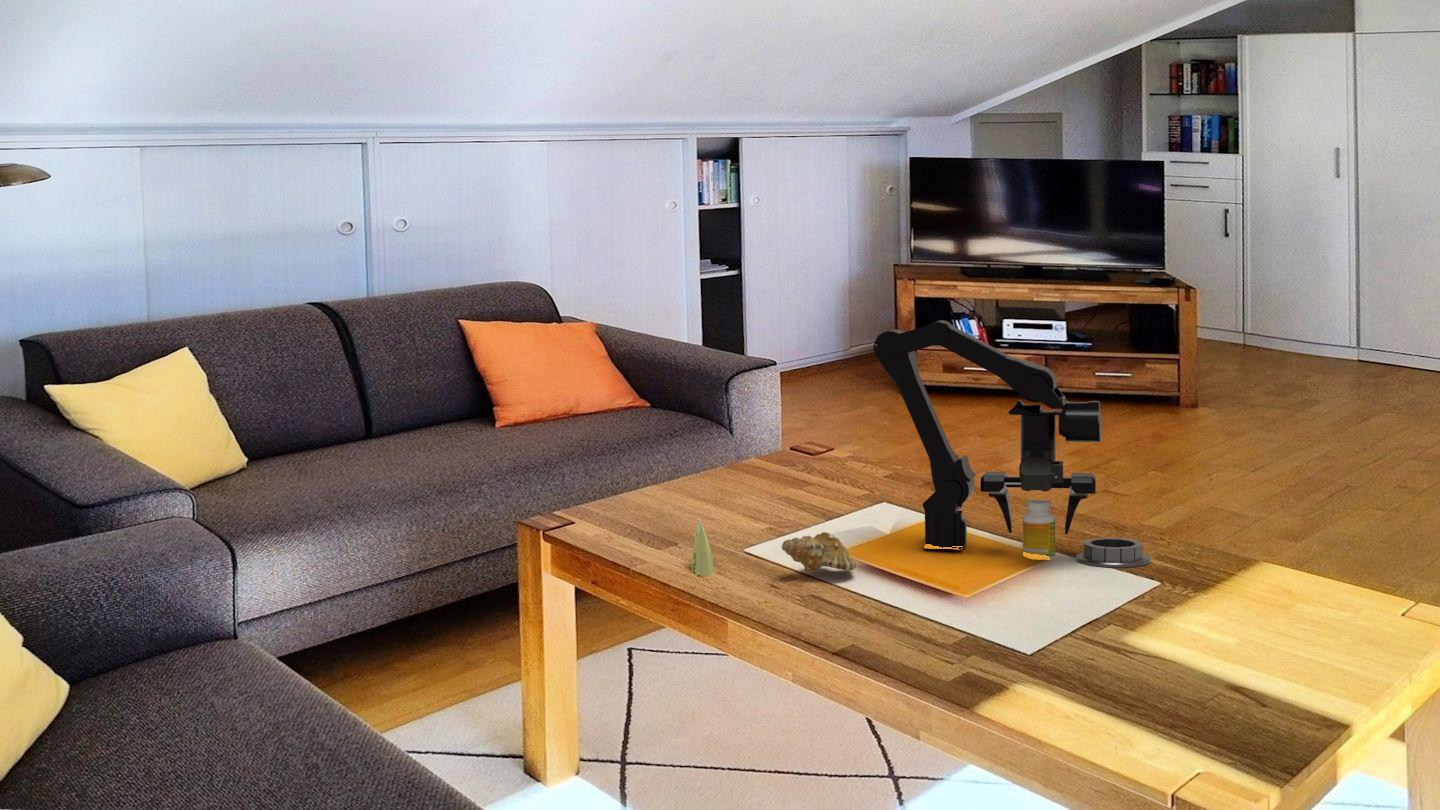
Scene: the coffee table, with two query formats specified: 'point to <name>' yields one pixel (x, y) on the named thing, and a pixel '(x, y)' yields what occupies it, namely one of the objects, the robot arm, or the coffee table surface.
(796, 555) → the seashell
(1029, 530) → the supplement bottle
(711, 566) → the tube
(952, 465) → the robot arm
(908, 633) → the coffee table surface
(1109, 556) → the collar stand
